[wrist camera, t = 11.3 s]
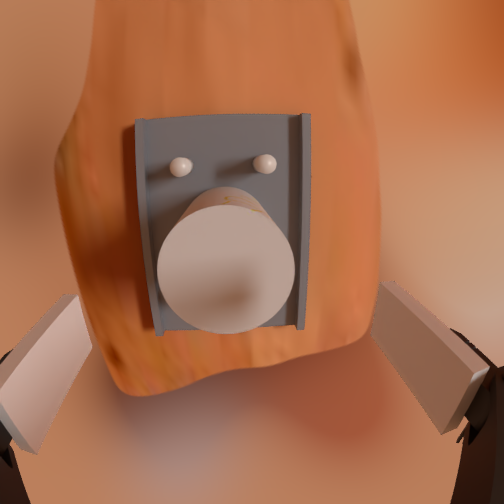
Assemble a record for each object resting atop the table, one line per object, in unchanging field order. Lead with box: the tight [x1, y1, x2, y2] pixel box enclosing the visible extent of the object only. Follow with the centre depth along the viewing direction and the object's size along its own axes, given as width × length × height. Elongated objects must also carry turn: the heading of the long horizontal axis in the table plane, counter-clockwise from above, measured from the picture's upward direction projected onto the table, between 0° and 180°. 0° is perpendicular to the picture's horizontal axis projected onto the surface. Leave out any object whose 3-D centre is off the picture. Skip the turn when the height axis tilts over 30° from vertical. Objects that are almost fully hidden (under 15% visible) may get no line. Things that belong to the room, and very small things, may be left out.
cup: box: [157, 186, 295, 334], centre depth 23 cm, size 8×8×12 cm
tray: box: [135, 113, 311, 336], centre depth 28 cm, size 22×16×5 cm
